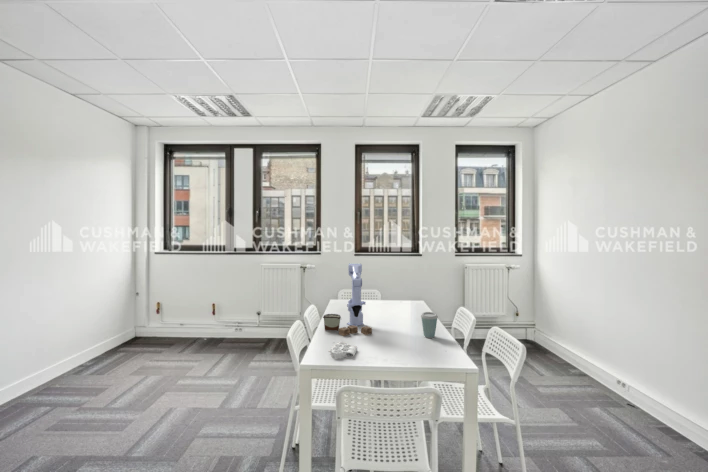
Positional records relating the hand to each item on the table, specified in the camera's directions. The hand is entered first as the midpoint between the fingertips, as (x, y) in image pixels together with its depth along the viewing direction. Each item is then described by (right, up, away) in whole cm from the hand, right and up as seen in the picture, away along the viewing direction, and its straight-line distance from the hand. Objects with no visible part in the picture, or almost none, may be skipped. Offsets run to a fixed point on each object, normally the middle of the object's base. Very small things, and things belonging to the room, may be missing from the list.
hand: (356, 316), depth 226 cm
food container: (-16, -10, +3) cm, 19 cm away
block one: (+7, -10, -4) cm, 13 cm away
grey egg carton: (-8, -11, -39) cm, 42 cm away
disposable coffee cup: (+47, -11, -8) cm, 49 cm away
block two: (-8, -10, -7) cm, 15 cm away
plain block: (-2, -10, -3) cm, 11 cm away
